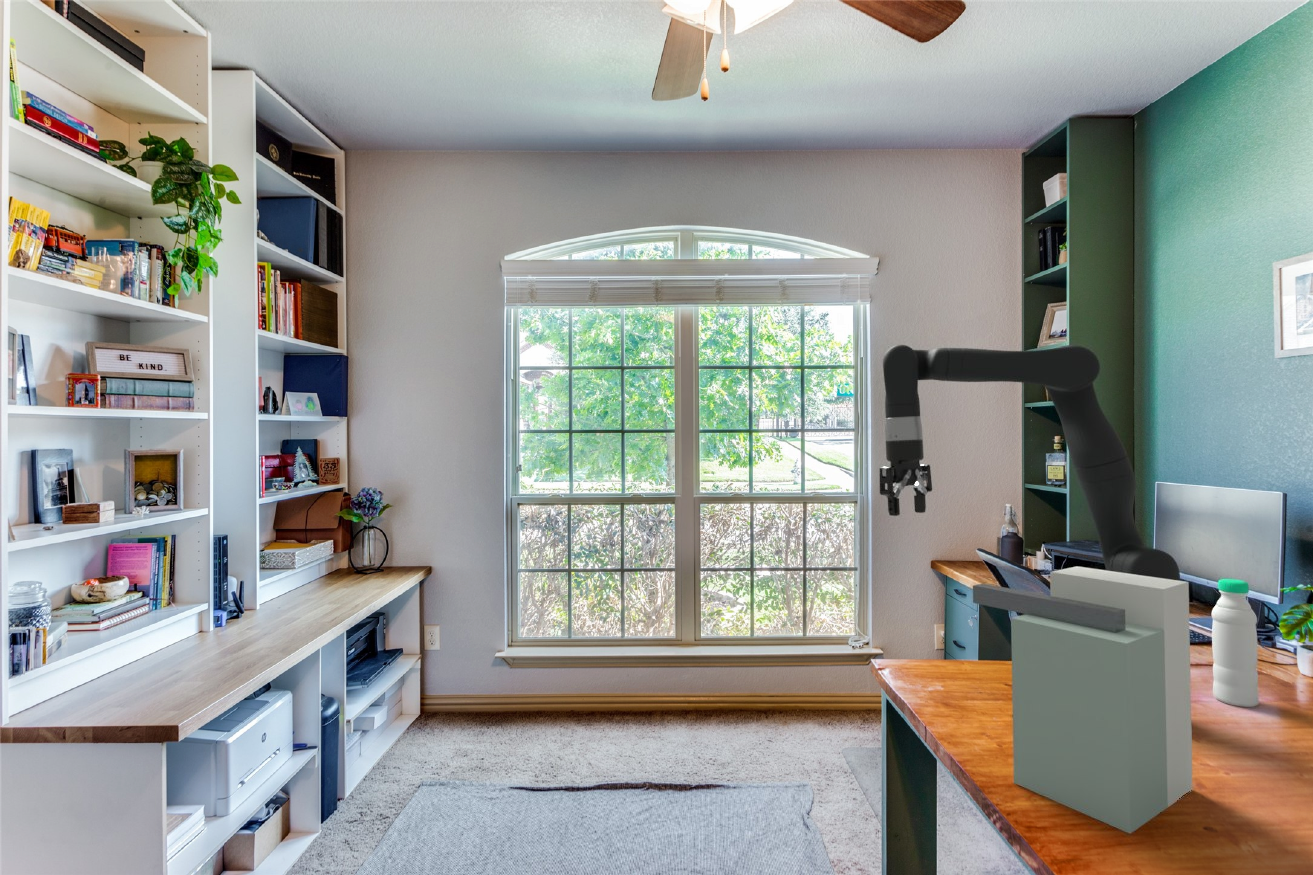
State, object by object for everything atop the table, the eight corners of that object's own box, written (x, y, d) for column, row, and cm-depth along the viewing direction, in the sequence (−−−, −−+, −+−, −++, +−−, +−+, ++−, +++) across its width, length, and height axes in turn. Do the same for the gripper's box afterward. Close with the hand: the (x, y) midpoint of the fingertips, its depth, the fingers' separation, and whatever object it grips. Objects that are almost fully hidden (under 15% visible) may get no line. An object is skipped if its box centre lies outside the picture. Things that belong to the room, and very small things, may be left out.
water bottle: (1204, 695, 137) (1201, 577, 137) (1234, 694, 137) (1232, 576, 138) (1236, 708, 130) (1233, 584, 130) (1268, 707, 130) (1266, 583, 131)
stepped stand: (1013, 782, 102) (1010, 580, 103) (1080, 749, 113) (1076, 566, 114) (1130, 833, 89) (1125, 599, 89) (1192, 789, 100) (1188, 581, 100)
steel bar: (973, 602, 113) (972, 585, 113) (983, 600, 114) (982, 583, 114) (1115, 632, 94) (1115, 612, 94) (1125, 629, 95) (1125, 609, 96)
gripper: (896, 438, 132) (900, 517, 132) (940, 437, 140) (943, 512, 139) (867, 440, 139) (871, 515, 138) (910, 438, 146) (913, 510, 146)
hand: (907, 513), depth 139 cm, fingers open, 8 cm apart
